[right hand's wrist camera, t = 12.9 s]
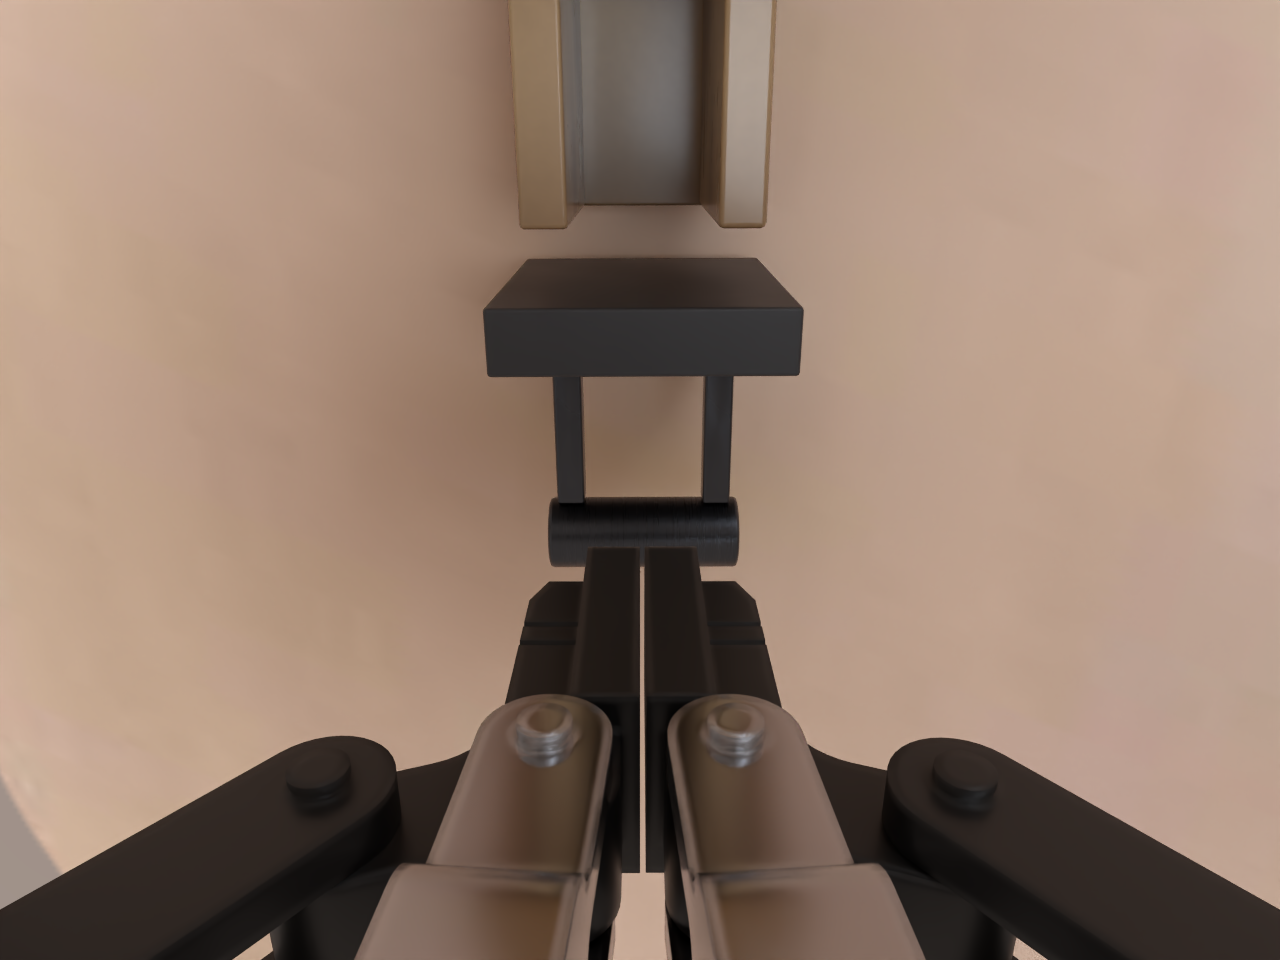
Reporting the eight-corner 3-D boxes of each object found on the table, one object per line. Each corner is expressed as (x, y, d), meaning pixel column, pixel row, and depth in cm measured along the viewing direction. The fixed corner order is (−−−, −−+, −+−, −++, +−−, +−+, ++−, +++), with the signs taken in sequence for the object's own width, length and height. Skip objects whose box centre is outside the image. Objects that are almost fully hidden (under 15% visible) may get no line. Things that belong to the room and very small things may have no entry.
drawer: (746, 510, 23) (783, 640, 17) (539, 510, 23) (505, 640, 17) (790, -500, 16) (880, -877, 10) (489, -500, 16) (399, -873, 10)
